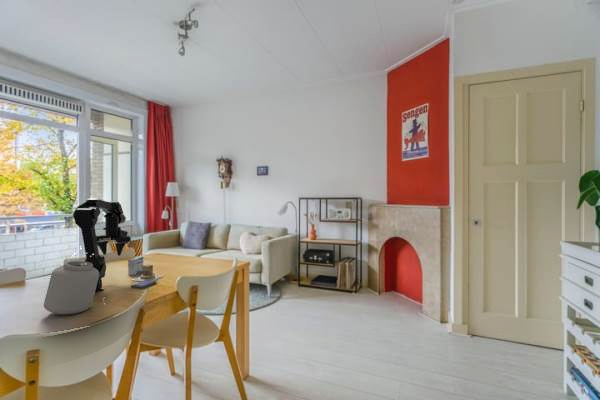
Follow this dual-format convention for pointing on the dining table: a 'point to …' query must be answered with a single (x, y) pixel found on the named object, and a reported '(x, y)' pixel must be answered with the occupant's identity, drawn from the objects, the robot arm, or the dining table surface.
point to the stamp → (147, 272)
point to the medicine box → (135, 266)
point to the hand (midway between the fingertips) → (112, 255)
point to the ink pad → (143, 284)
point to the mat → (147, 279)
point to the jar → (71, 288)
